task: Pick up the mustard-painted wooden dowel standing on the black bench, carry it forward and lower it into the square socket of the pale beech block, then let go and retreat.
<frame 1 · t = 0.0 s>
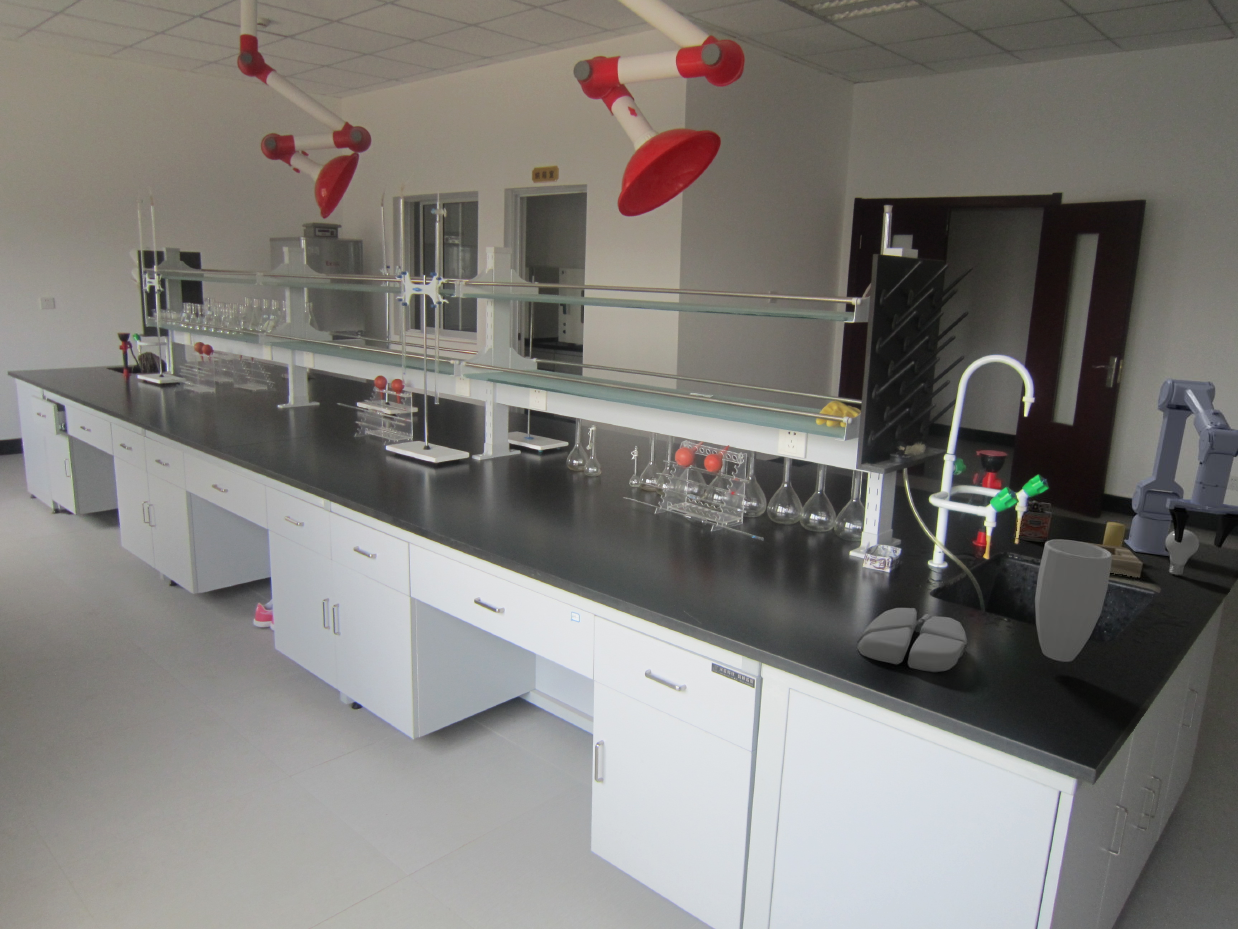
hand: (1197, 543, 181), 10 cm above the worktop, fingers open, 7 cm apart
lightbulb: (1174, 576, 191), on the worktop
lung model: (914, 645, 146), on the worktop
dowel: (1110, 555, 203), on the worktop
cup: (1054, 672, 137), on the worktop
lighter: (1030, 539, 213), on the worktop
socket block: (1103, 565, 194), on the worktop
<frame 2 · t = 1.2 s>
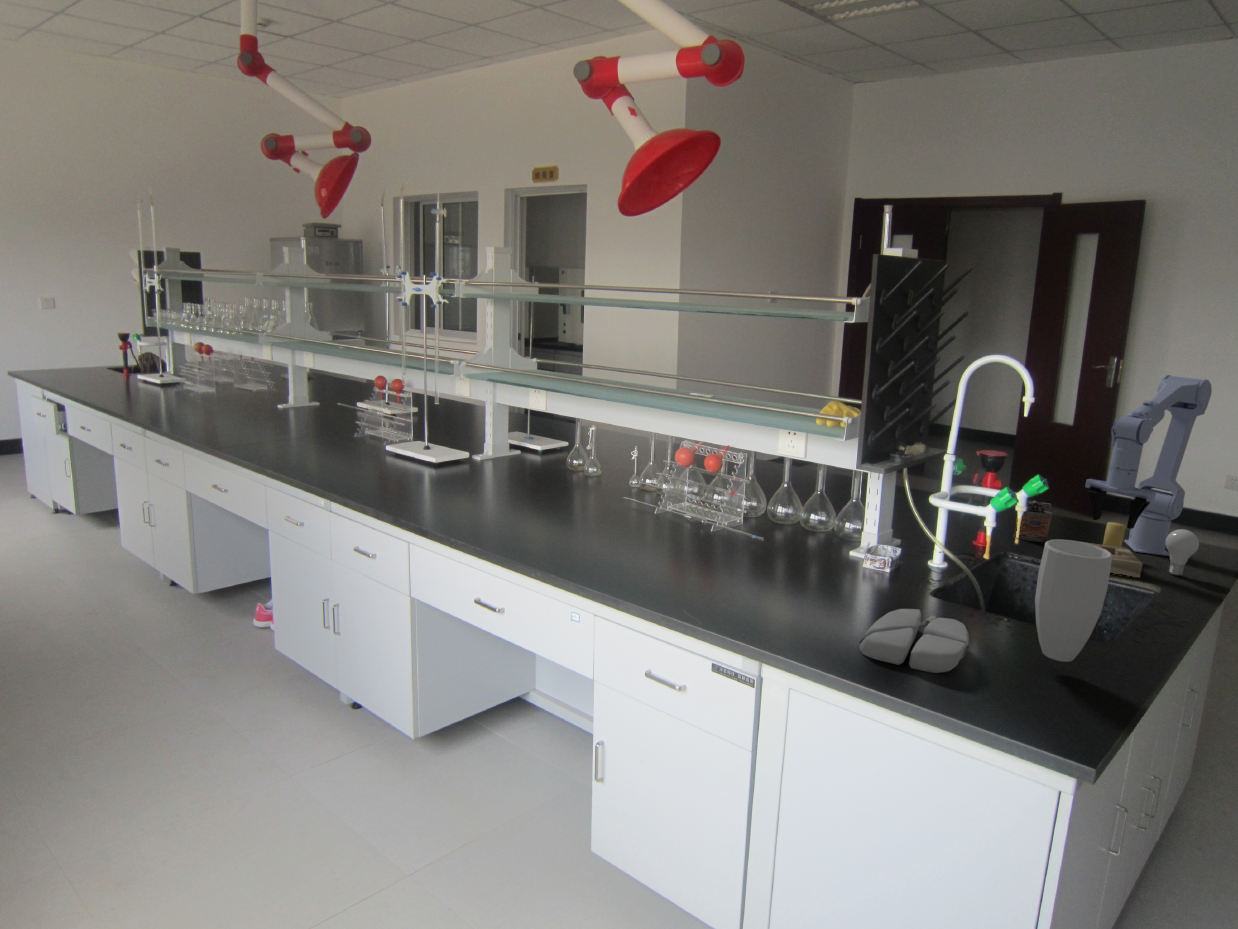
hand: (1113, 523, 195), 10 cm above the worktop, fingers open, 7 cm apart
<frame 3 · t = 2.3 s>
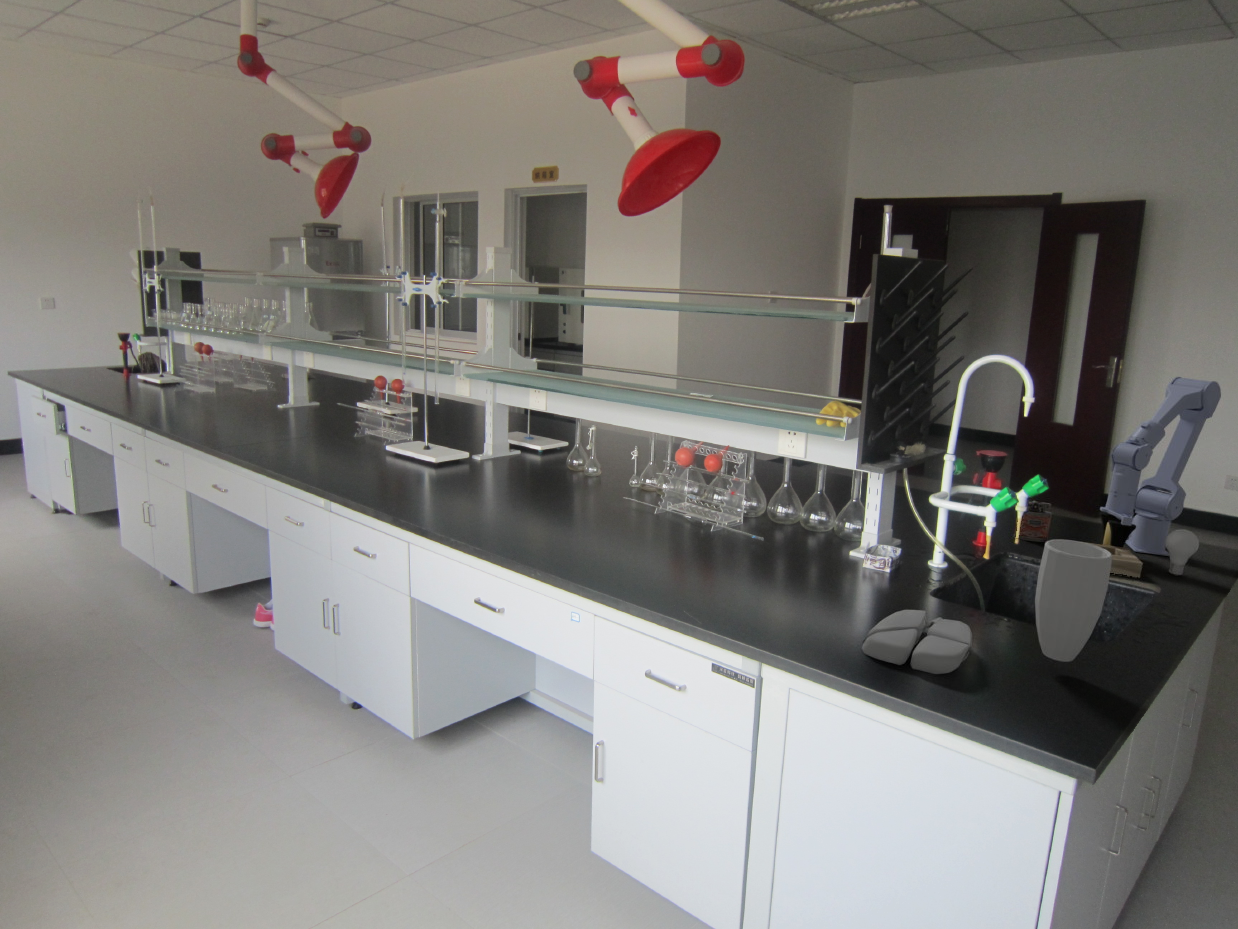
hand: (1111, 545, 202), 2 cm above the worktop, fingers open, 6 cm apart
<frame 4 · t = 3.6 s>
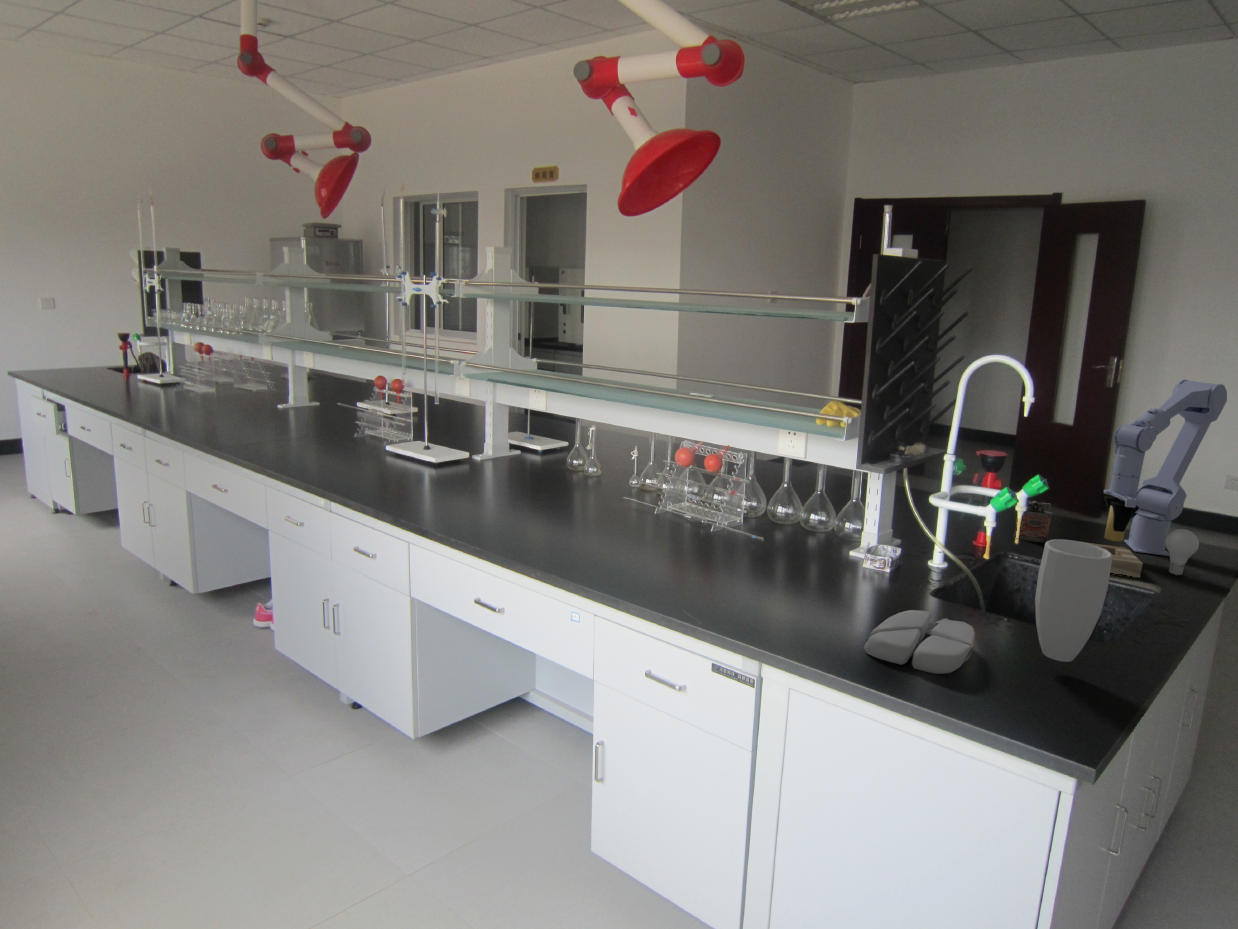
hand: (1115, 528, 201), 7 cm above the worktop, fingers closed on dowel, 4 cm apart
dowel: (1113, 538, 202), point 4 cm above the worktop, touching gripper
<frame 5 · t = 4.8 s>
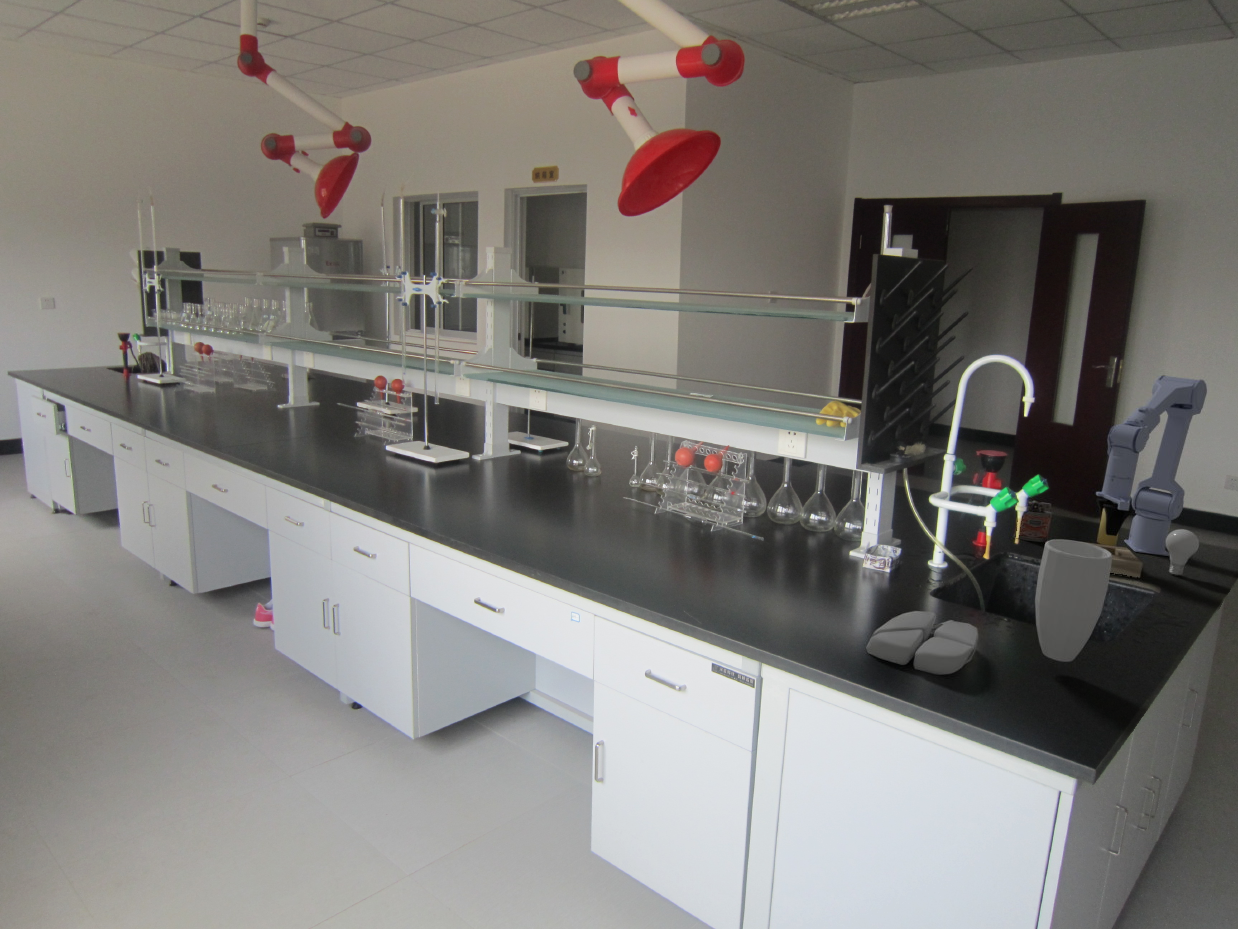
hand: (1108, 532, 194), 8 cm above the worktop, fingers closed on dowel, 4 cm apart
dowel: (1106, 543, 194), point 5 cm above the worktop, touching gripper
when the fingers open (4 cm above the worktop, at t = 5.8 s): dowel drops 1 cm, resting on socket block.
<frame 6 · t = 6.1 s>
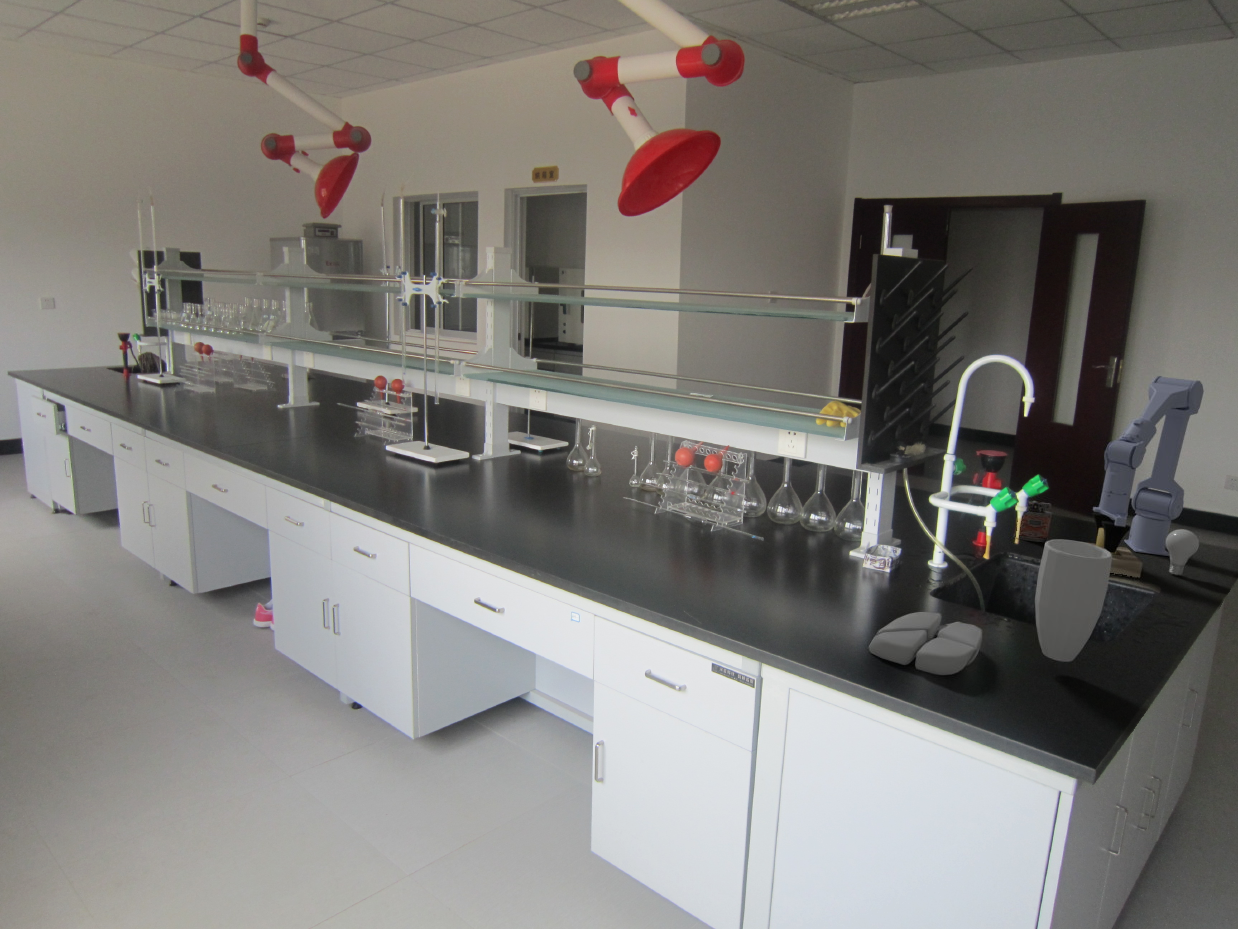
hand: (1105, 547, 194), 4 cm above the worktop, fingers open, 6 cm apart
dowel: (1102, 562, 195), resting on socket block
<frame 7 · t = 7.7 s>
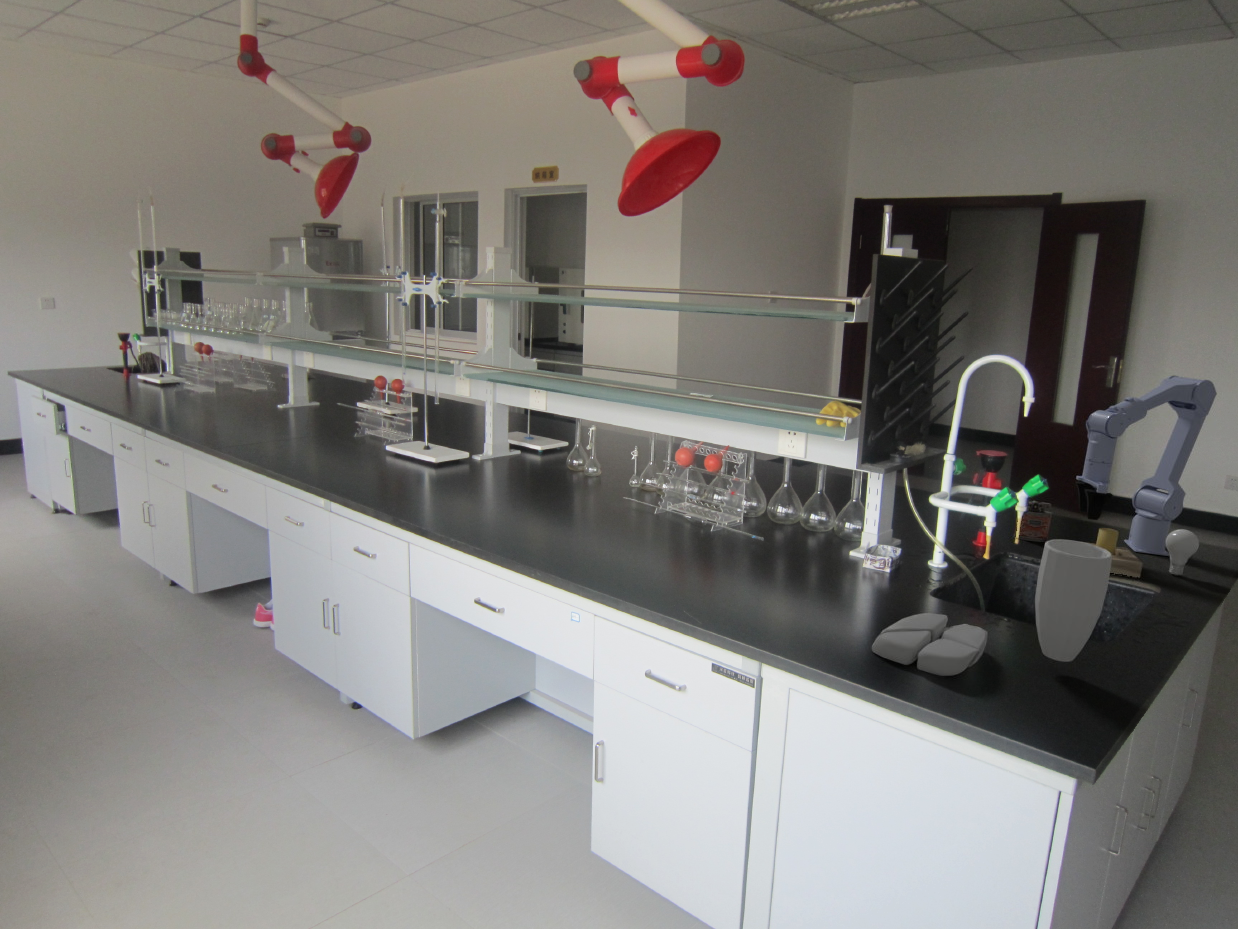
hand: (1088, 515, 201), 10 cm above the worktop, fingers open, 7 cm apart
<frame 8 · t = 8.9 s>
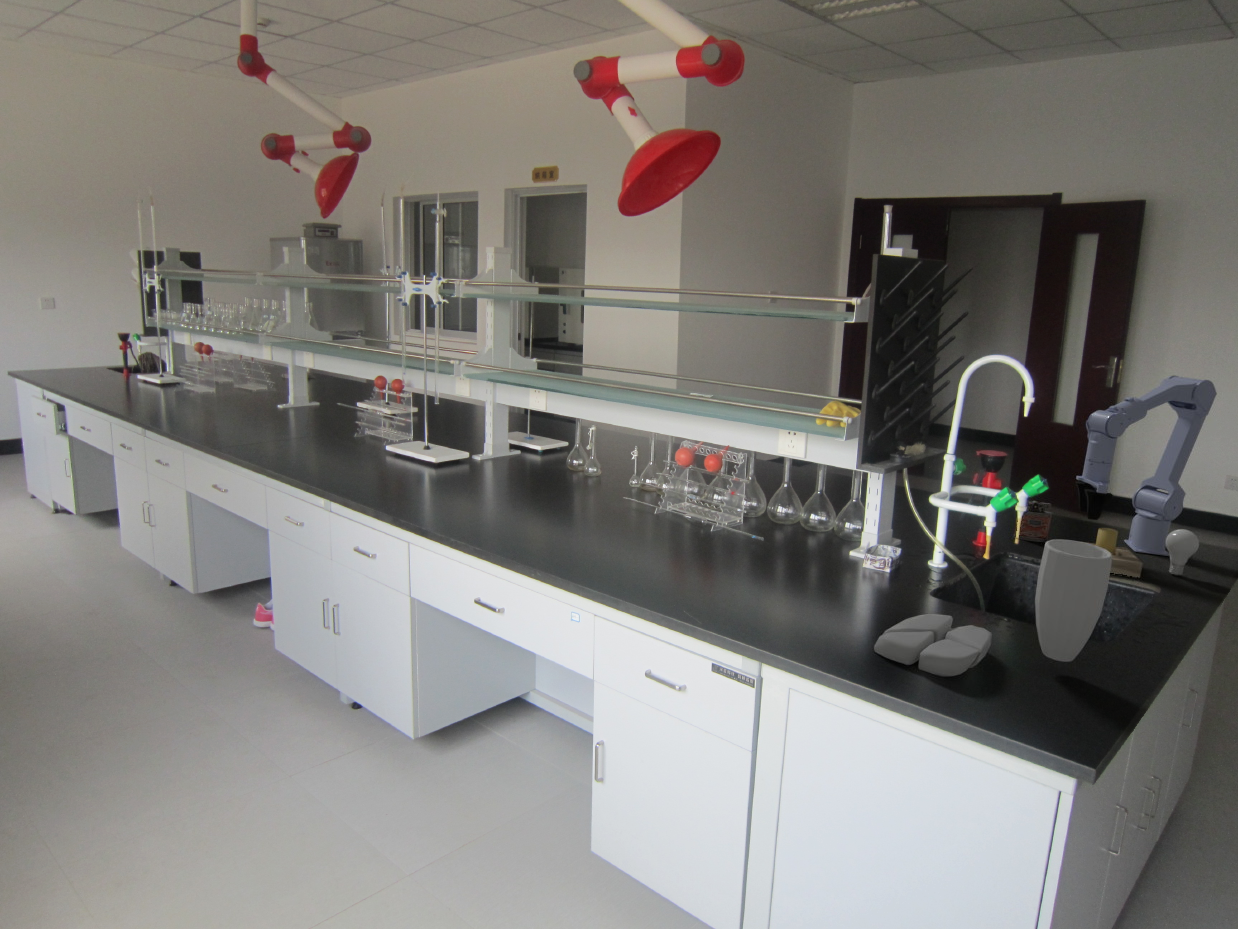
hand: (1088, 515, 201), 10 cm above the worktop, fingers open, 7 cm apart
at the end: dowel 0.0 cm from the target spot on the socket block, point 0.4 cm above the socket block's base; dowel tilted 1°; the gripper is holding nothing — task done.
